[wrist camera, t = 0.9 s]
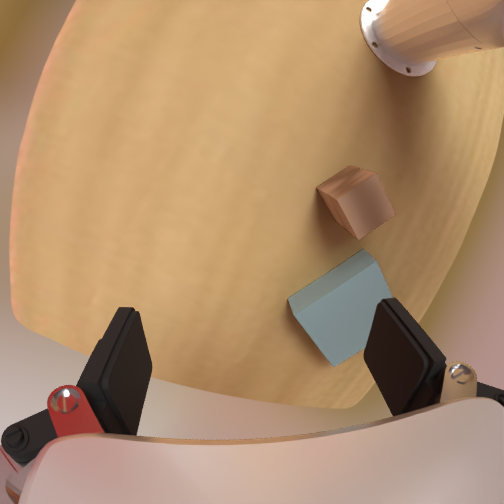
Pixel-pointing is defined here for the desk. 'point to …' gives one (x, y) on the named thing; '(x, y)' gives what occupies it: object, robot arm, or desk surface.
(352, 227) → the walnut block
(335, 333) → the plinth
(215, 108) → the desk surface
